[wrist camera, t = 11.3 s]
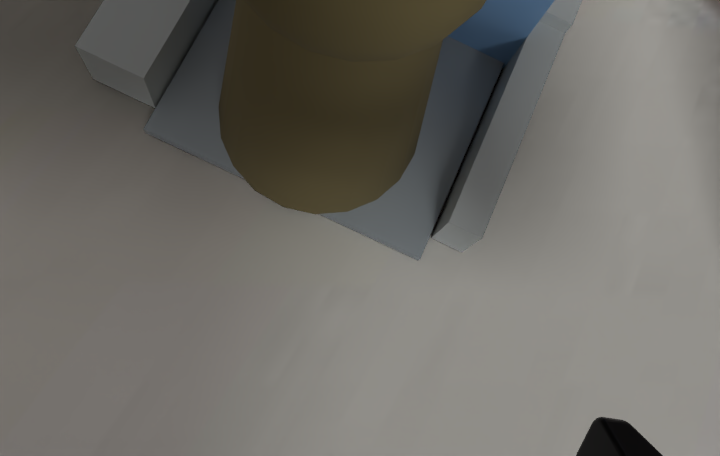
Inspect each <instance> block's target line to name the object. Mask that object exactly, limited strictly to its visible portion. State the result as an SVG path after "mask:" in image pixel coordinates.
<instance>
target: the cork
mask: <svg viewBox="0 0 720 456" xmlns="http://www.w3.org/2000/svg"><path fill="white" fill-rule="evenodd" d="M485 2H486V0H236V4H235V10H234V16H233V22H232V28H231V34H230V40H229V46H228V53H227V59H226V65H225V71H224V77H223V83H222V89H221V95H220V101H219V121H220V134H221V139H222V141H223V144H224V146H225V148H226V151H227V153H228V155H229V158H230V160H231V162H232V164H233V166H234V168H235V169H236V170H237V171H238V172H239V173H240V174H241V175H242V176H243V178H244V179H245V180H246V181H247V182H248V183H249V184H250V185H251V186H252V188H253V189H254V190H255V191H257V192H259V193H260V194H262V195H264V196H266V197H267V198H269V199H271V200H272V201H274V202H276V203H278V204H279V205H281V206H283V207H286V208H291V209H295V210H299V211H304V212H308V213H312V214H324V213H337V212H348V211H351V210H353V209H355V208H358V207H360V206H363V205H365V204H368V203H370V202H372V201H375V200H377V199H378V198H379V197H380V196H382V195H383V194H384V193H385V192H386V191H387V190H389V189H390V188H391V187H392V186H393V185H394V184H395V183H397V182H398V181H399V180H400V179H401V177H402V175H403V173H404V172H405V170H406V168H407V166H408V165H409V163H410V161H411V159H412V158H413V156H414V154H415V150H416V146H417V142H418V138H419V134H420V130H421V126H422V122H423V118H424V114H425V110H426V106H427V102H428V98H429V94H430V90H431V86H432V82H433V78H434V74H435V70H436V66H437V62H438V58H439V54H440V50H441V46H442V42H443V39H444V38H446V37H447V36H448V35H450V34H451V33H452V32H453V31H454V30H456V29H457V28H458V27H459V26H461V25H462V24H463V23H464V22H466V21H467V20H468V19H469V18H470V17H472V16H473V15H474V14H475V13H477V12H478V11H479V10H480V9H482V7H483V5H484V4H485Z"/></svg>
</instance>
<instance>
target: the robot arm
mask: <svg viewBox="0 0 720 456" xmlns="http://www.w3.org/2000/svg"><path fill="white" fill-rule="evenodd" d="M576 456H663V455H662V454H661V453H659V452H658V451H657V450H656V449H655V448H654V447H653V446H652V445H651V444H650V443H649V442H648V441H647V440H646V439H645V438H644V437H643V436H642V435H641V434H640V433H639V432H638V431H637V430H636V429H635V428H634V427H633V426H632V425H630V424H629V423H628V422H626V421H624V420H619V419H612V418H605V417H599V418H597V419H596V420H594V421H593V423H592V425H591V427H590V429H589V431H588V433H587V435H586V437H585V439H584V440H583V442H582V444H581V446H580V448H579V450H578V452H577V455H576Z"/></svg>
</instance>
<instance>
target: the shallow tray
mask: <svg viewBox="0 0 720 456" xmlns="http://www.w3.org/2000/svg"><path fill="white" fill-rule="evenodd" d="M581 2H582V0H486V2H485V4H484V5H483V7H482V9H480V10H479V11H478V12H477V13H475V14H474V15H473V16H472V17H470V18H469V19H468V20H467V21H466V22H464V23H463V24H462V25H461V26H459V27H458V28H457V29H456V30H454V31H453V32H452V33H451V34H450V35H448V36H447V37H446V38H444V39H443V42H442V46H441V50H440V54H439V58H438V62H437V66H436V70H435V74H434V78H433V82H432V86H431V90H430V94H429V98H428V102H427V106H426V110H425V114H424V118H423V122H422V126H421V130H420V134H419V138H418V142H417V146H416V150H415V154H414V156H413V158H412V159H411V161H410V163H409V165H408V166H407V168H406V170H405V172H404V173H403V175H402V177H401V179H400V180H399V181H398V182H397V183H395V184H394V185H393V186H392V187H391V188H390V189H389V190H387V191H386V192H385V193H384V194H383V195H382V196H380V197H379V198H378V199H377V200H375V201H372V202H370V203H368V204H365V205H363V206H360V207H358V208H355V209H353V210H351V211H348V212H337V213H324V214H320V215H322V216H324V217H326V218H328V219H331V220H333V221H335V222H337V223H339V224H341V225H343V226H345V227H348V228H350V229H352V230H354V231H356V232H358V233H360V234H363V235H365V236H367V237H369V238H371V239H373V240H375V241H377V242H380V243H382V244H384V245H386V246H388V247H390V248H392V249H395V250H397V251H399V252H401V253H403V254H405V255H407V256H409V257H412V258H414V259H416V260H419V259H420V258H421V256H422V253H423V251H424V249H425V246H426V244H427V242H428V239H429V237H430V235H431V232H432V230H433V228H434V225H435V223H436V221H437V218H438V216H439V214H440V211H441V209H442V207H443V204H444V202H445V200H446V197H447V195H448V193H449V190H450V188H451V186H452V183H453V181H454V179H455V176H456V174H457V172H458V169H459V167H460V165H461V162H462V160H463V158H464V155H465V153H466V150H467V148H468V146H469V143H470V141H471V139H472V136H473V134H474V132H475V129H476V127H477V125H478V122H479V120H480V118H481V115H482V113H483V111H484V108H485V106H486V104H487V101H488V99H489V97H490V94H491V92H492V90H493V87H494V85H495V83H496V80H497V78H498V76H499V73H500V71H501V69H502V68H503V71H502V73H501V76H500V78H499V80H498V83H497V85H496V87H495V90H494V92H493V95H492V97H491V99H490V102H489V104H488V106H487V109H486V111H485V113H484V116H483V118H482V120H481V123H480V125H479V127H478V130H477V132H476V134H475V137H474V139H473V141H472V144H471V146H470V148H469V151H468V153H467V155H466V158H465V160H464V162H463V165H462V167H461V170H460V172H459V174H458V177H457V179H456V181H455V184H454V186H453V188H452V191H451V193H450V195H449V198H448V200H447V202H446V205H445V207H444V209H443V212H442V214H441V216H440V219H439V221H438V223H437V226H436V228H435V230H434V233H433V235H432V237H431V238H432V239H434V240H436V241H439V242H441V243H443V244H445V245H447V246H449V247H451V248H453V249H456V250H458V251H460V252H463V251H464V250H466V249H467V248H468V247H470V246H471V245H473V244H474V243H476V242H477V241H479V240H480V239H482V237H483V235H484V233H485V230H486V228H487V225H488V223H489V220H490V218H491V215H492V213H493V210H494V208H495V205H496V203H497V200H498V198H499V195H500V193H501V190H502V188H503V186H504V183H505V181H506V178H507V176H508V173H509V171H510V168H511V166H512V163H513V161H514V158H515V156H516V153H517V151H518V148H519V146H520V143H521V141H522V138H523V136H524V134H525V131H526V129H527V126H528V124H529V121H530V119H531V116H532V114H533V111H534V109H535V106H536V104H537V101H538V99H539V96H540V94H541V91H542V89H543V87H544V84H545V82H546V79H547V77H548V74H549V72H550V69H551V67H552V64H553V62H554V59H555V57H556V54H557V52H558V49H559V47H560V44H561V42H562V40H563V37H564V35H565V33H566V32H567V30H568V29H569V28H570V27H571V26H572V24H573V22H574V19H575V17H576V14H577V12H578V9H579V7H580V4H581ZM235 4H236V0H104V1H103V2H102V4H101V5H100V7H99V9H98V10H97V12H96V13H95V15H94V16H93V18H92V20H91V21H90V23H89V24H88V26H87V27H86V29H85V30H84V32H83V34H82V35H81V37H80V38H79V40H78V41H77V43H76V45H75V47H76V49H77V51H78V53H79V55H80V56H81V58H82V60H83V62H84V63H85V65H86V67H87V69H88V71H89V72H90V74H91V76H92V78H93V79H94V80H96V81H98V82H100V83H103V84H105V85H107V86H109V87H111V88H113V89H115V90H117V91H120V92H122V93H124V94H126V95H128V96H130V97H132V98H134V99H137V100H139V101H141V102H143V103H145V104H147V105H149V106H151V107H154V108H155V110H154V112H153V113H152V115H151V117H150V119H149V120H148V122H147V124H146V125H145V127H144V131H145V133H147V134H149V135H151V136H154V137H156V138H158V139H160V140H162V141H164V142H166V143H168V144H171V145H173V146H175V147H177V148H179V149H181V150H183V151H186V152H188V153H190V154H192V155H194V156H196V157H198V158H200V159H203V160H205V161H207V162H209V163H211V164H213V165H215V166H218V167H220V168H222V169H224V170H226V171H228V172H230V173H232V174H235V175H237V176H239V177H241V178H243V176H242V175H241V174H240V173H239V172H238V171H237V170H236V169H235V168H234V166H233V164H232V162H231V160H230V158H229V155H228V153H227V151H226V148H225V146H224V144H223V141H222V139H221V134H220V121H219V101H220V95H221V89H222V83H223V77H224V71H225V65H226V59H227V53H228V46H229V40H230V34H231V28H232V22H233V16H234V10H235ZM243 179H244V178H243Z"/></svg>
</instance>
